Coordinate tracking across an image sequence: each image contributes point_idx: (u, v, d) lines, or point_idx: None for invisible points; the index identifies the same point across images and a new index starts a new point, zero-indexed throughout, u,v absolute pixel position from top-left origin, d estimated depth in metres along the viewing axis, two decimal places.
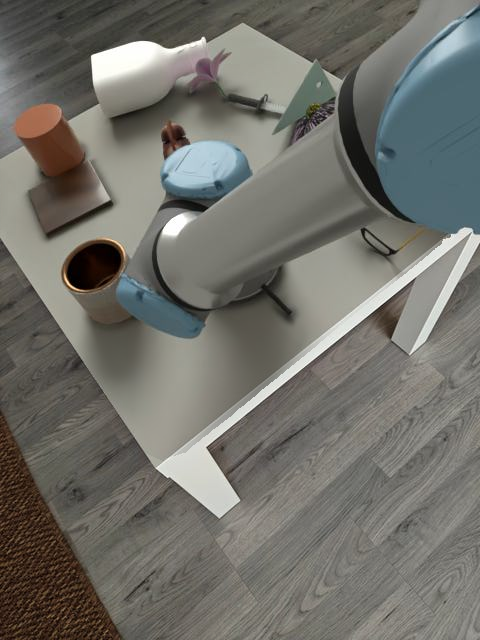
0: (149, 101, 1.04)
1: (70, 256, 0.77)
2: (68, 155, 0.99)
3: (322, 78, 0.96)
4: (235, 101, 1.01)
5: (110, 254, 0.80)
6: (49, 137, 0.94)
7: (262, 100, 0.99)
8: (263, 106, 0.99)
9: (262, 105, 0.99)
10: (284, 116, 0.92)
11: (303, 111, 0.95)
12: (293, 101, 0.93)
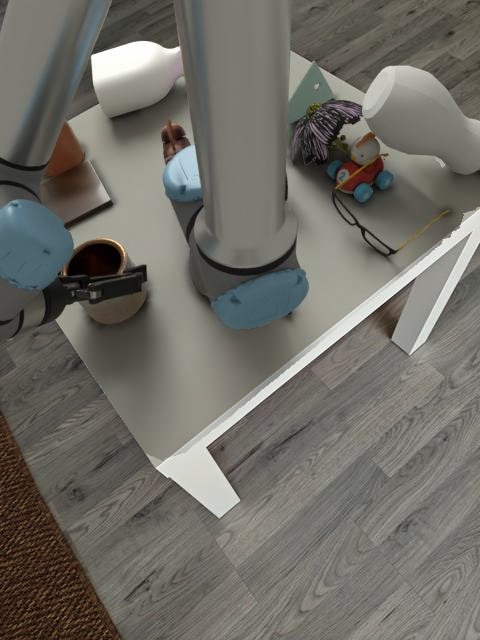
0: (149, 101, 1.04)
1: None
2: (68, 155, 0.99)
3: (320, 80, 0.96)
4: None
5: (110, 254, 0.80)
6: None
7: None
8: None
9: None
10: None
11: (300, 112, 0.94)
12: (290, 102, 0.93)
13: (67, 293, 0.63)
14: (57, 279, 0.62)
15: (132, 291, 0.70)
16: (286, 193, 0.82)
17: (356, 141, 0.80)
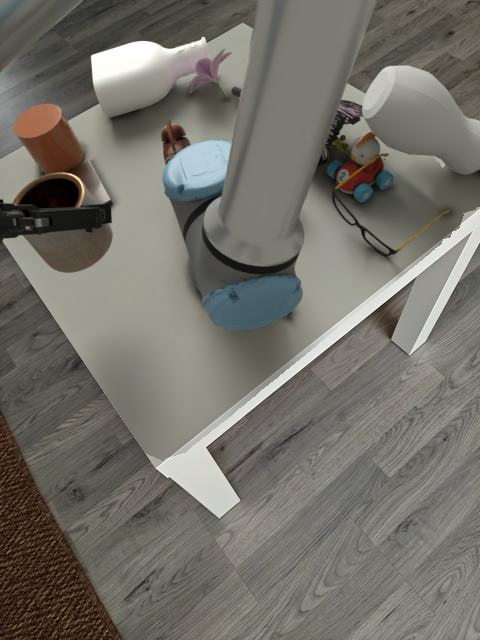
0: (149, 101, 1.04)
1: (22, 193, 0.67)
2: (68, 155, 0.99)
3: None
4: (238, 95, 1.02)
5: (70, 193, 0.70)
6: (49, 137, 0.94)
7: None
8: None
9: None
10: None
11: None
12: None
13: (6, 220, 0.53)
14: None
15: (89, 225, 0.60)
16: None
17: (356, 141, 0.80)
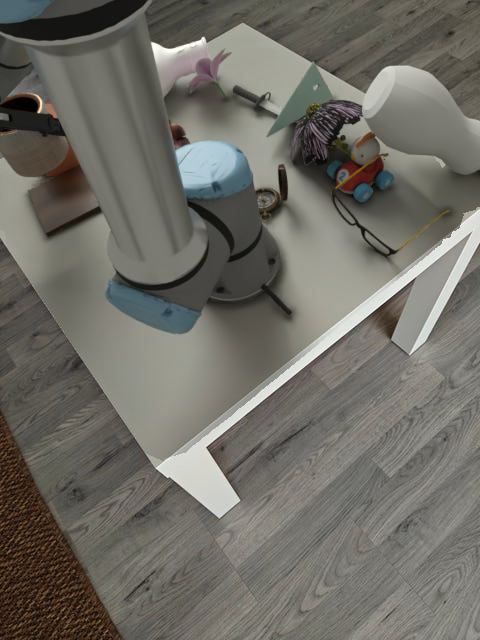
0: None
1: None
2: (68, 155, 0.99)
3: (319, 81, 0.95)
4: (238, 94, 1.02)
5: (32, 111, 0.85)
6: None
7: (262, 98, 0.99)
8: (262, 104, 1.00)
9: (262, 102, 1.00)
10: (279, 118, 0.92)
11: (299, 113, 0.94)
12: (289, 103, 0.93)
13: None
14: None
15: (43, 127, 0.76)
16: (286, 193, 0.82)
17: (356, 141, 0.80)
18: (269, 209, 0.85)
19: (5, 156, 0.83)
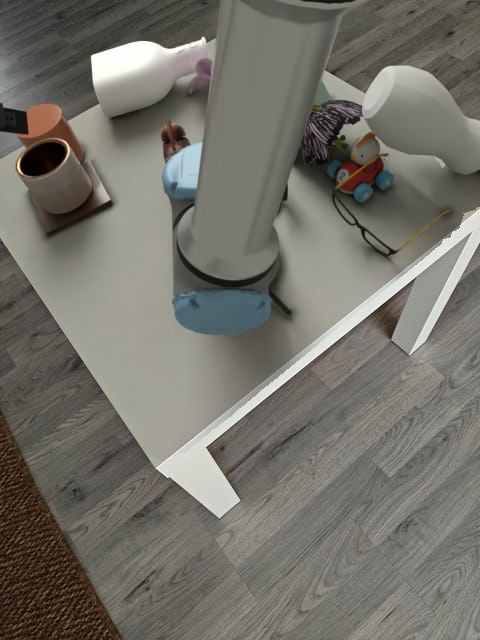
0: (149, 101, 1.04)
1: (24, 152, 0.91)
2: None
3: None
4: None
5: (59, 154, 0.93)
6: (49, 137, 0.94)
7: None
8: None
9: None
10: None
11: None
12: None
13: None
14: None
15: None
16: (286, 193, 0.82)
17: (356, 141, 0.80)
18: None
19: (35, 196, 0.91)
